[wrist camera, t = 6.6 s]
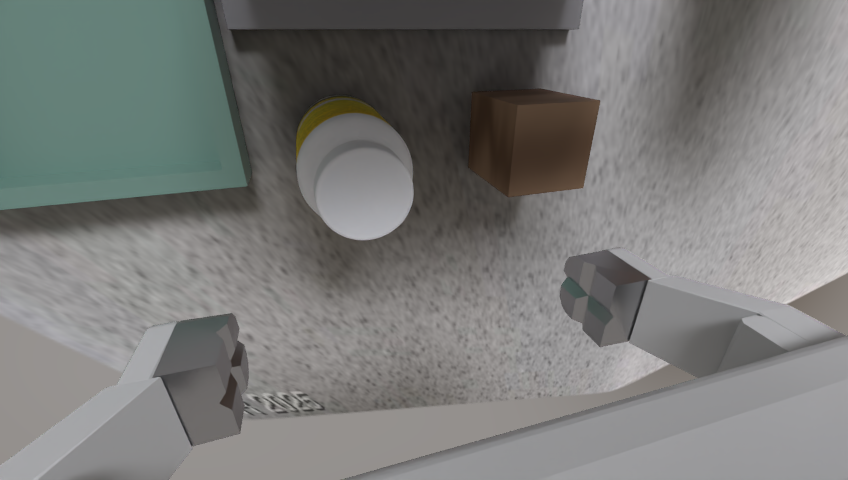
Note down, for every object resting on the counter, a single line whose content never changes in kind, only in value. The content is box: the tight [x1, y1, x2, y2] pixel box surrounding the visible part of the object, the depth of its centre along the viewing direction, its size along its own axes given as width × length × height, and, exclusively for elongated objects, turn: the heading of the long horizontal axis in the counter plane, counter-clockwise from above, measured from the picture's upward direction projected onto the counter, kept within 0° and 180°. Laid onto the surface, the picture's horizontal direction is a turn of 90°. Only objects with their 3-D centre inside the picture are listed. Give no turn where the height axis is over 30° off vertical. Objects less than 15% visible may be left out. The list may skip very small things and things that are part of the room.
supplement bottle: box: [296, 95, 414, 240], centre depth 19 cm, size 5×5×10 cm
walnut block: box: [468, 89, 600, 197], centre depth 24 cm, size 5×5×6 cm
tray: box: [0, 0, 252, 210], centre depth 17 cm, size 13×13×2 cm
